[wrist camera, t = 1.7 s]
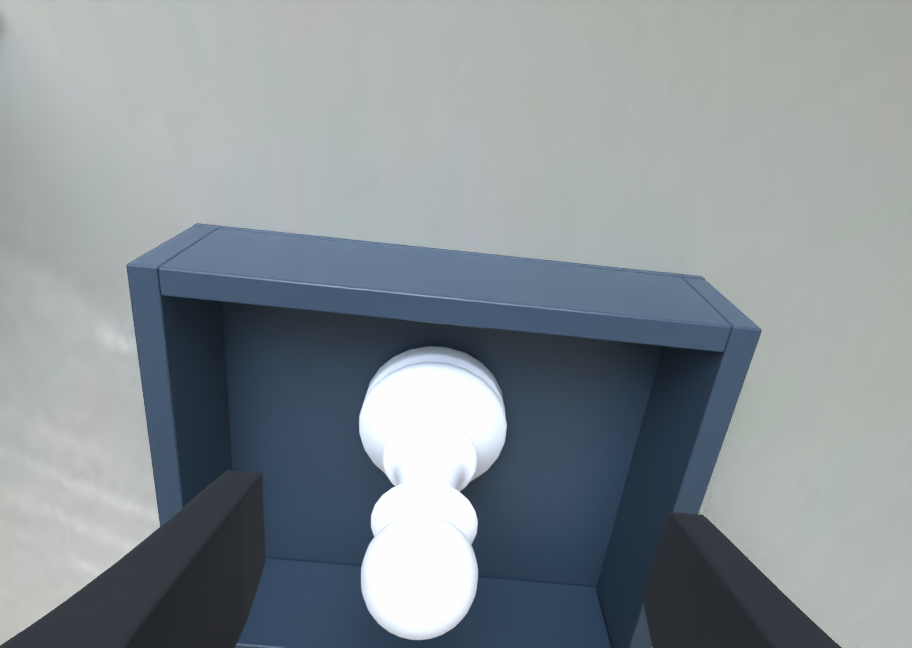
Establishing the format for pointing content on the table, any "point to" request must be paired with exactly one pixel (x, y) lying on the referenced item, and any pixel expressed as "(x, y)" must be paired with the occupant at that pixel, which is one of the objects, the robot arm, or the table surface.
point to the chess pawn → (427, 486)
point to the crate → (526, 410)
